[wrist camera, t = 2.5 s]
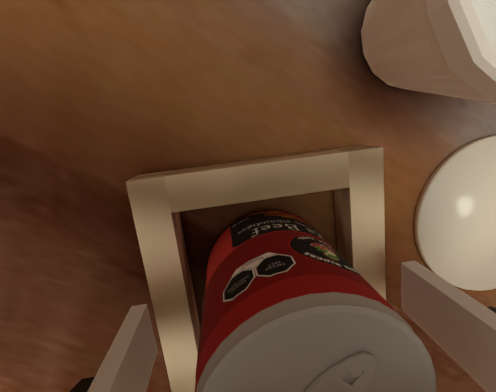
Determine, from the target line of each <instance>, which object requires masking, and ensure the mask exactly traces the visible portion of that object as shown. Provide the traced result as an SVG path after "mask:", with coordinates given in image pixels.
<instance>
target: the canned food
mask: <svg viewBox="0 0 496 392" xmlns="http://www.w3.org/2000/svg"><path fill="white" fill-rule="evenodd" d="M195 392H436V375H435V371H434V367H433V364H432V360H431V357H430V355H429V353H428V351H427V350H426V348H425V346H424V345H423V343H422V341H421V340H420V339H419V338H418V337H417V335H416V334H415V333H414V331H413V330H412V328H411V326H410V325H409V324H408V323H407V322H406V321H405V320H404V319H403V318H402V317H401V316H400V315H399V314H398V313H397V312H396V311H395V310H394V309H393V307H392V306H391V305H390V304H389V303H388V302H387V301H386V300H385V299H384V298H383V297H382V296H381V295H380V294H379V293H378V292H377V291H376V290H375V289H374V288H373V287H372V286H371V285H370V284H369V283H368V282H367V281H366V280H365V279H364V278H363V277H362V276H361V275H360V274H359V273H358V272H357V271H356V270H355V269H354V268H353V267H352V266H351V265H350V264H349V263H348V262H347V261H346V260H345V259H344V258H343V257H342V256H341V255H340V254H339V253H338V252H337V251H336V250H335V249H334V248H333V247H332V246H331V245H330V244H329V243H328V242H327V241H326V240H325V239H324V238H323V237H322V236H321V235H320V234H319V233H318V232H317V231H316V230H315V229H314V228H313V227H312V226H311V225H310V224H309V223H308V222H307V221H305V220H304V219H302V218H300V217H299V216H297V215H294V214H291V213H289V212H283V211H277V210H272V211H260V212H256V213H252V214H249V215H247V216H245V217H243V218H241V219H239V220H238V221H236V222H235V223H233V224H232V225H230V226H229V227H228V228H227V229H226V230H225V231H224V232H223V233H222V234H221V235H220V237H219V238H218V240H217V241H216V243H215V244H214V246H213V248H212V251H211V253H210V255H209V260H208V264H207V271H206V281H205V290H204V300H203V309H202V318H201V328H200V337H199V347H198V356H197V365H196V375H195Z"/></svg>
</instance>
